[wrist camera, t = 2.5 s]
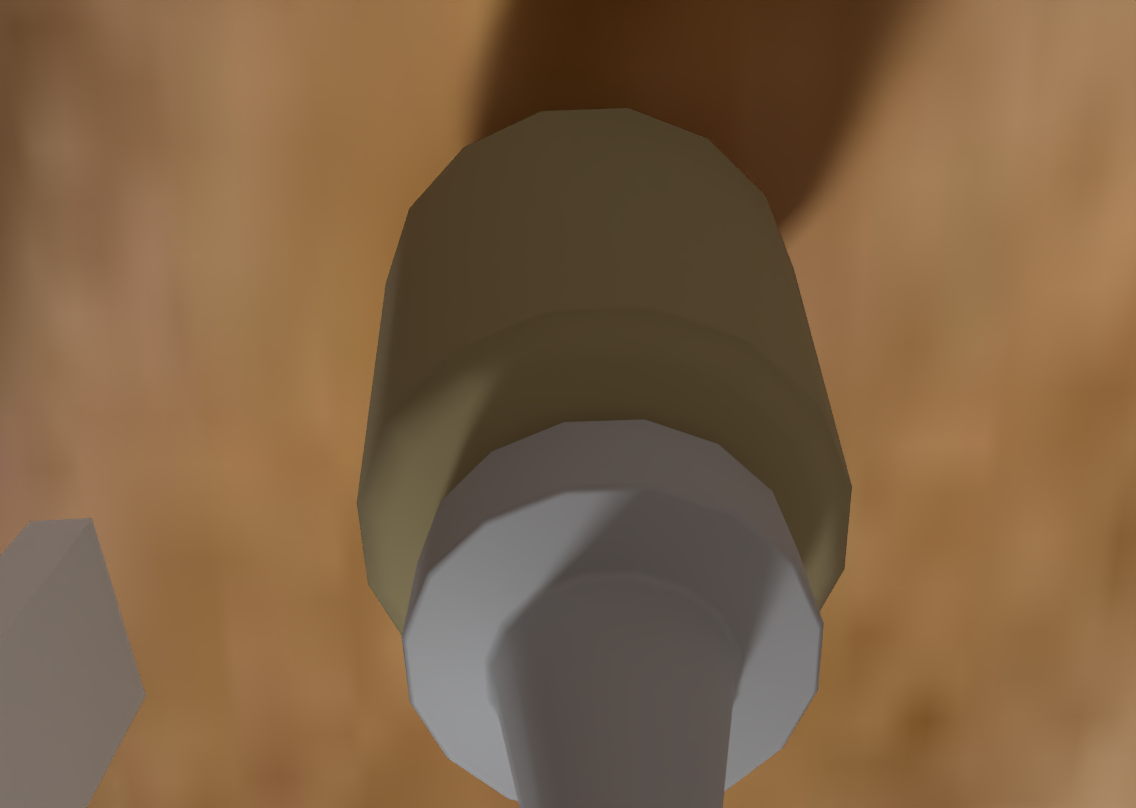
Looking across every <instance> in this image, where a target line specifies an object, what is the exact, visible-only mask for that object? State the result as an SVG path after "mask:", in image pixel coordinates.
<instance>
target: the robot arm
mask: <svg viewBox="0 0 1136 808" xmlns="http://www.w3.org/2000/svg"><path fill="white" fill-rule="evenodd" d="M145 696H146V695H145V691H144V688H143V685H142V682H141V678H140V675H139V672H138V668H137V665H136V662H135V659H134V655H133V652H132V649H131V646H130V642H129V639H128V636H127V632H126V629H125V626H124V623H123V619H122V616H121V613H120V609H119V606H118V603H117V600H116V596H115V593H114V590H113V586H112V583H111V580H110V577H109V573H108V570H107V567H106V563H105V560H104V557H103V554H102V550H101V547H100V544H99V540H98V537H97V534H96V531H95V527H94V524H93V521H92V518H84V519H65V520H47V521H30V522H29V523H28V524H27V525H26V527H25V528H24V529H23V530H22V531H21V532H20V534H19V535H18V536H17V537H16V538H15V539H14V541H13V542H12V543H11V544H10V545H9V547H8V548H7V549H6V550H5V551H4V552H3V554H2V555H1V556H0V808H87V806H88V804H89V802H90V800H91V798H92V796H93V794H94V793H95V791H96V789H97V787H98V785H99V783H100V781H101V779H102V777H103V775H104V774H105V772H106V770H107V768H108V766H109V764H110V762H111V760H112V758H113V757H114V755H115V753H116V751H117V749H118V747H119V745H120V743H121V741H122V739H123V738H124V736H125V734H126V732H127V730H128V728H129V726H130V724H131V722H132V720H133V719H134V717H135V715H136V713H137V711H138V709H139V707H140V705H141V703H142V702H143V700H144V698H145Z"/></svg>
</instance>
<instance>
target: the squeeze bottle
mask: <svg viewBox="0 0 1136 808" xmlns="http://www.w3.org/2000/svg"><path fill="white" fill-rule="evenodd" d="M851 491H852V485H851V482H850V478H849V474H848V470H847V467H846V463H845V459H844V455H843V452H842V448H841V444H840V440H839V437H838V433H837V429H836V426H835V422H834V418H833V414H832V411H831V407H830V403H829V399H828V396H827V392H826V388H825V384H824V381H823V377H822V373H821V369H820V366H819V362H818V358H817V354H816V351H815V347H814V343H813V339H812V336H811V332H810V328H809V324H808V321H807V317H806V313H805V309H804V306H803V302H802V298H801V295H800V291H799V287H798V283H797V280H796V276H795V272H794V268H793V266H792V263H791V261H790V258H789V255H788V253H787V250H786V247H785V245H784V242H783V240H782V237H781V234H780V232H779V229H778V227H777V224H776V221H775V219H774V216H773V213H772V211H771V208H770V206H769V203H768V200H767V198H766V196H765V195H764V194H763V193H762V192H761V191H760V190H759V189H758V188H757V187H756V186H755V185H754V184H753V183H752V182H751V181H750V180H749V179H748V178H747V177H746V176H745V175H744V174H743V173H742V172H741V171H740V170H739V169H738V168H737V167H736V166H735V165H734V164H733V163H732V162H731V161H730V160H729V159H728V158H727V157H726V156H725V155H724V154H723V153H722V152H721V151H720V150H719V149H718V148H717V147H716V146H715V145H714V144H713V143H712V142H711V141H710V140H709V139H708V138H705V137H703V136H700V135H698V134H695V133H692V132H690V131H687V130H685V129H682V128H679V127H677V126H674V125H671V124H669V123H666V122H664V121H661V120H658V119H656V118H653V117H651V116H648V115H645V114H643V113H640V112H638V111H635V110H632V109H630V108H611V109H584V110H557V111H540V112H538V113H536V114H534V115H532V116H530V117H528V118H525V119H523V120H521V121H519V122H517V123H515V124H513V125H510V126H508V127H506V128H504V129H502V130H500V131H498V132H495V133H493V134H491V135H489V136H487V137H485V138H483V139H480V140H478V141H476V142H474V143H472V144H470V145H468V146H465V147H464V148H463V149H462V150H461V151H460V152H459V153H458V154H457V156H456V157H455V158H454V159H453V160H452V161H451V162H450V163H449V165H448V166H447V167H446V168H445V169H444V170H443V171H442V172H441V174H440V175H439V176H438V177H437V178H436V179H435V180H434V181H433V183H432V184H431V185H430V186H429V187H428V188H427V189H426V190H425V192H424V193H423V194H422V195H421V196H420V197H419V198H418V199H417V201H416V202H415V203H414V204H413V205H412V206H411V207H410V209H409V212H408V215H407V218H406V221H405V224H404V227H403V231H402V234H401V237H400V240H399V243H398V246H397V250H396V253H395V256H394V259H393V262H392V265H391V268H390V272H389V275H388V278H387V281H386V287H385V294H384V302H383V309H382V317H381V324H380V332H379V339H378V347H377V354H376V362H375V370H374V377H373V385H372V392H371V400H370V407H369V415H368V422H367V430H366V437H365V445H364V453H363V460H362V468H361V475H360V483H359V490H358V498H357V508H358V515H359V522H360V529H361V536H362V543H363V551H364V558H365V565H366V572H367V579H368V585H369V586H370V588H371V589H372V591H373V592H374V594H375V595H376V597H377V598H378V600H379V601H380V603H381V605H382V606H383V608H384V609H385V611H386V612H387V614H388V615H389V617H390V618H391V620H392V621H393V623H394V625H395V626H396V628H397V629H398V631H399V632H400V634H401V635H402V643H403V651H404V659H405V667H406V675H407V683H408V691H409V699H410V703H411V704H412V706H413V707H414V709H415V710H416V712H417V713H418V715H419V716H420V718H421V719H422V721H423V722H424V724H425V725H426V727H427V728H428V730H429V731H430V733H431V734H432V736H433V737H434V739H435V740H436V742H437V743H438V745H439V746H440V748H441V749H442V751H443V752H444V754H445V755H446V757H447V758H448V759H450V760H451V761H453V762H454V763H456V764H457V765H459V766H460V767H462V768H463V769H465V770H466V771H468V772H469V773H471V774H472V775H474V776H475V777H477V778H478V779H480V780H481V781H483V782H484V783H486V784H487V785H489V786H490V787H492V788H493V789H495V790H496V791H498V792H499V793H501V794H502V795H504V796H505V797H507V798H508V799H512V800H515V801H518V803H519V807H520V808H723V798H724V791H726V790H727V789H728V788H730V787H731V786H732V785H734V784H735V783H736V782H738V781H739V780H740V779H742V778H743V777H744V776H746V775H747V774H748V773H750V772H751V771H752V770H754V769H755V768H756V767H758V766H759V765H760V764H762V763H763V762H764V761H766V760H767V759H768V758H770V757H771V756H772V755H774V754H775V753H776V752H778V751H779V750H780V749H782V748H783V747H784V745H785V743H786V742H787V740H788V738H789V737H790V735H791V733H792V732H793V730H794V728H795V727H796V725H797V724H798V722H799V720H800V719H801V717H802V715H803V714H804V712H805V710H806V709H807V707H808V705H809V704H810V702H811V700H812V699H813V697H814V695H815V694H816V692H817V690H818V684H819V672H820V660H821V648H822V636H823V624H824V623H823V620H822V618H821V615H820V610H821V608H822V606H823V605H824V603H825V601H826V600H827V598H828V596H829V594H830V593H831V591H832V589H833V587H834V586H835V584H836V582H837V581H838V579H839V577H840V575H841V574H842V572H843V570H844V567H845V556H846V545H847V534H848V523H849V512H850V501H851Z"/></svg>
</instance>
